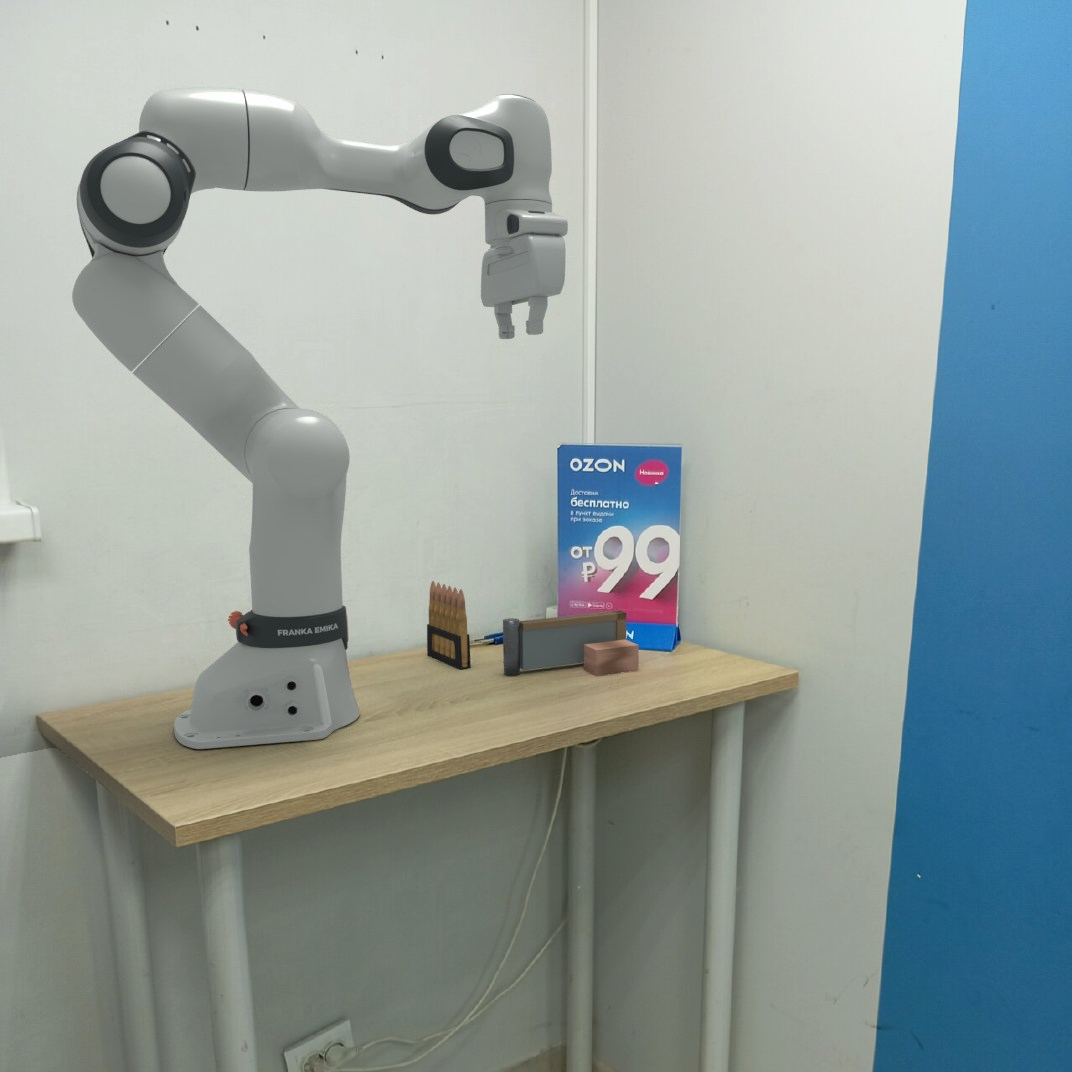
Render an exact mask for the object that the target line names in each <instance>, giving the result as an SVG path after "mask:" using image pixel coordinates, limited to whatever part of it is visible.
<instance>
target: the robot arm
mask: <svg viewBox="0 0 1072 1072" xmlns="http://www.w3.org/2000/svg"><path fill="white" fill-rule="evenodd" d="M551 141H552V140H551V131H550V126H549V119H548V115H547V114H546V111H545V109H544V108H543V107H542V105H540V104H539V103H538V102H537V101H535V100H534V99H532V98H530V97H527V96H524V95H521V94H520V95H519V94H513V93H512V94H508V93H506V94H505V93H503V94H498V95H494V96H492V97H491V98H490V99H489V100H488V101H486V102H485V103H483V104H482V105H480V106H478V107H476V108H474V109H472V110H470V111H466V112H463V113H459V114H458V113H457V114H454V115H448V116H444V117H442V118H440V119H438V120H437V121H435V122H433V123H432V124H431V125H430V126H428V127H427V128H425V130H424V131H423V132H422V133H420V134H419V135H418V136H417V137H415V138H413V139H411V140H408V141H406V142H404V143H401V144H395V145H386V144H385V145H384V144H376V143H370V142H363V141H356V140H349V139H343V138H342V139H341V138H338V137H334V136H331V135H329V134H327V133H325V132H324V131H322V130H321V129H320V128H319V126H318V125H317V124H316V122H315V120H314V118H313V117H312V115H311V114H310V113H309V111H308V110H307V109H306V108H305V107H304V106H303V105H302V104H301V103H299V102H298V101H296V100H293V99H290V98H289V97H288V98H287V97H284V96H280V95H278V94H274V93H270V92H264V91H259V90H251V89H250V90H249V89H240V88H232V87H211V86H207V87H205V86H203V87H182V88H181V87H180V88H170V89H163V90H159V91H157V92H154V93H153V94H152V95H151V96H150V97H148V99H147V100H146V102H145V104H144V105H143V108H142V111H141V113H140V117H139V122H138V132H137V133H135V134H133V135H131V136H129V137H126V138H125V139H122V140H121V141H119V142H116V143H113V144H112V145H110V146H108V147H106V148H104V149H102V150H101V151H98V153H97V154H95V155H94V156H93V157H92V158H91V160H89V162H88V163H87V164H86V166H85V167H84V170H83V172H82V175H81V179H80V182H79V184H78V187H77V190H76V208H77V213H78V217H79V224H80V226H81V227H80V228H81V230H82V233H83V236H84V238H85V241H86V243H87V245H88V249H89V251H90V255H91V260H90V262H89V263H87V264H86V265H85V266H84V267H83V268H82V269H81V271H80V272H79V274H78V275H77V278H76V280H75V282H74V284H73V285H74V286H73V288H72V294H71V295H72V296H71V298H72V304H73V307H74V309H75V312H76V313H77V314H78V316H79V317H80V319H82V321H83V323H84V324H85V325H86V326H87V328H88V329H89V330H90V331H91V332H92V333H93V335H94V336H95V337H96V338H97V339H98V340H99V341H100V343H101V344H102V345H103V346H104V347H105V348H106V349H107V350H108V351H109V352H110V353H111V354H112V355H113V357H114V358H116V359H117V361H118V362H119V363H121V364H122V365H123V367H125V368H126V369H127V370H128V371H129V372H130V373H131V372H132V375H134V376H135V377H136V378H137V379H138V380H139V381H140V382H142V383H143V384H144V385H145V386H146V387H147V388H149V390H151V391H152V392H153V393H154V394H155V395H156V396H157V397H159V398H160V399H161V400H162V401H163V402H164V403H165V404H166V405H167V406H169V408H171V409H172V410H173V411H174V412H175V413H176V414H177V415H179V416H180V418H182V419H183V420H184V421H185V422H186V423H188V425H190V426H191V427H192V428H193V429H194V430H195V432H196V433H198V434H199V435H200V436H201V437H202V438H203V439H204V440H205V441H206V442H207V443H208V444H210V445H211V446H212V447H213V448H214V449H215V450H216V452H217V453H219V454H220V455H221V456H222V457H223V458H225V460H226V461H227V462H228V463H230V464H231V465H232V466H233V467H234V468H235V469H236V470H237V471H238V472H240V473H241V475H243V477H245V478H246V479H247V480H248V481H249V482H251V484H252V502H251V503H252V508H251V526H250V527H251V529H250V541H249V548H248V549H249V550H248V554H249V569H250V570H249V571H250V586H251V587H250V591H251V608H252V609H250V610H248V612H246V613H244V614H243V612H241V611H237V610H235V611H231V613H230V615H228V618H227V620H228V623H229V625H230V627H231V628H233V629H235V634H236V641H237V642H236V643H235V644H234V645H233V646H232V647H231V648H229V649H228V650H227V651H225V653H223V654H222V655H221V656H220V657H218V659H216V660H215V661H214V662H213V663H211V664H210V665H209V666H208V667H207V668H205V669H204V670H203V671H202V672H201V673H200V674H199V676H198V677H197V678H196V682H195V685H194V689H193V692H192V698H191V699H192V700H191V708H190V709H188V710H185V711H183V712H181V713H180V714H179V715H177V717H176V718H175V720H174V722H173V734H174V737H175V739H176V740H177V741H178V743H180V744H181V745H183V746H184V747H185V746H186V747H188V748H190V749H196V750H205V749H218V748H230V747H240V746H241V747H242V746H243V747H244V746H254V745H265V744H277V743H278V744H279V743H289V742H301V741H303V742H304V741H313V740H315V741H316V740H321V739H324V738H326V737H328V736H330V735H331V734H332V733H333V732H334V731H336V730H337V729H340V728H343V727H345V726H348V725H350V724H351V723H353V722H355V721H356V720H357V719H358V718H359V717H360V715H361V710H360V708H359V706H358V703H357V700H356V697H355V696H356V695H355V693H354V689H353V683H352V680H351V679H352V678H351V676H350V669H349V664H348V657H347V650H348V647H349V646H348V642H349V619H348V614H347V607H346V606H345V605H343V581H342V580H343V577H342V549H341V548H342V532H343V523H344V516H345V515H344V514H345V506H346V505H345V504H346V493H347V477H348V475H347V474H348V471H349V466H350V450H349V445H348V443H347V440H346V438H345V436H344V434H343V432H342V430H341V429H340V428H339V427H338V425H337V424H336V423H335V422H333V420H331V418H329V417H328V416H326V415H324V414H323V413H320V412H319V411H315V410H313V409H309V408H308V409H307V408H301V407H300V406H298V405H297V404H296V403H295V402H294V401H293V399H292V398H290V397H289V395H288V394H286V393H285V392H284V390H283V389H282V388H281V387H280V386H279V385H278V383H276V381H275V380H273V378H272V377H271V376H270V374H268V372H267V371H266V370H265V369H264V368H263V367H262V365H260V363H259V362H258V361H257V359H256V358H255V356H253V354H252V353H251V352H250V351H249V350H248V349H247V348H246V347H245V346H244V345H242V344H241V342H240V341H238V340H237V339H236V338H235V337H234V336H233V335H232V334H231V333H230V332H229V331H228V330H227V329H225V327H224V326H223V325H222V324H220V323H219V322H218V321H217V319H215V318H214V317H213V316H212V315H211V314H210V313H209V312H208V311H207V310H206V309H204V307H203V306H202V305H199V303H198V302H197V300H195V299H194V298H193V297H192V296H191V295H189V293H187V292H186V291H185V290H184V289H183V288H182V287H181V286H180V285H179V284H178V283H177V281H176V280H175V279H174V278H173V276H172V275H171V274H170V271H169V270H168V268H167V266H166V262H165V259H164V255H165V253H166V251H167V250H168V248H169V247H170V246H171V244H172V243H174V241H175V240H176V239H177V236H178V235H179V233H180V231H181V229H182V227H183V222H184V220H185V218H186V215H187V211H188V208H189V204H190V198H191V195H192V194H194V193H197V192H198V191H203V190H213V189H216V188H218V189H225V190H233V191H235V190H236V191H245V192H246V191H247V192H287V191H288V192H291V191H303V190H305V191H306V190H329V191H336V192H337V191H338V192H347V193H353V194H354V193H355V194H364V195H371V196H372V195H373V196H381V197H385V198H390V199H392V200H394V201H397V202H399V203H401V204H403V205H405V206H406V207H408V208H410V209H412V210H414V211H416V212H418V213H421V214H425V215H440V214H444V213H447V212H449V211H450V210H452V209H453V208H455V206H457V205H458V204H459V203H461V201H463V200H466V199H468V198H469V197H472V196H473V197H474V196H475V197H480V198H481V199H483V201H484V237H485V238H484V240H485V241H484V242H485V243H486V244H487V245H489V246H490V247H489V249H488V250H487V251H486V252H484V255H483V257H482V263H481V276H480V298H481V299H480V300H481V303H482V305H483V306H484V307H485V308H493V310H494V313H493V314H494V317H495V321H496V324H497V326H498V338H499V339H501V340H511V339H514V338H515V336H516V334H515V330H516V329H515V325H513V320H512V314H513V306H514V305H519V304H524V303H527V305H528V307H529V311H528V320H525V327H526V329H525V332H526V334H527V335H528V336H530V335H531V336H532V335H533V336H537V335H542V334H543V333H544V319H545V316H546V312H547V310H548V301H549V300H548V298H549V297H553V296H554V297H555V296H559V295H560V294H562V290H563V288H564V285H565V280H566V279H565V277H566V243H565V239H564V237H565V236H566V235H567V234H568V229H569V228H568V227H569V224H568V223H569V222H568V218H566V217H565V216H562V215H559V214H557V213H554V212H553V200H552V197H551V194H550V193H551V192H550V181H551V175H552V171H553V167H552V163H553V162H552V161H553V160H552V159H553V157H552V142H551Z"/></svg>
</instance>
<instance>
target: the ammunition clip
mask: <svg viewBox="0 0 1072 1072" xmlns="http://www.w3.org/2000/svg"><path fill="white" fill-rule="evenodd" d="M430 583H431V584H430V587H429V602H428V603H429V604H428V623H427V624H426V649H427V650H426V656H427V657H429V658H431V659H434V660H436V661H439V662H441V663H443V664H446V665H448V666H451V667H453V668H455V669H457V670H461V671H462V670H466V669H470V668H471V665H472V664H471V644H470V642H471V641H470V640H471V639H470V638H471V637H470V634H469V633H468V617H467V611H466V601H465V599H466V598H465V595H464V592H463V590H462V588H460V589H459V590H457V587H454V588H452V587H451V585H448V587H447V586H446V584H445V583H444V584H442V586H441V583H440V582H437V583H435V581H434V580H432V581H431V582H430ZM452 589H453V590H452ZM458 591H459V592H458Z"/></svg>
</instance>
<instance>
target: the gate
mask: <svg viewBox="0 0 1072 1072" xmlns="http://www.w3.org/2000/svg"><path fill="white" fill-rule="evenodd" d="M519 630H520V670H522V671H530V670H538V669H544V668H545V669H546V668H554V667H562V666H568V665H569V666H570V665H577V664H584V644H591V643H600V642H608V641H617V640H625V639H626V640H627V612H625V611H623V610H612V611H603V612H593V613H582V614H575V615H565V616H554V617H545V618H535V619H526V620H519Z"/></svg>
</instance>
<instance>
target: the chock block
mask: <svg viewBox="0 0 1072 1072" xmlns="http://www.w3.org/2000/svg"><path fill="white" fill-rule="evenodd" d="M639 647H640V646H639V644H637V643H634V642H632V641H630V640H628V639H627V638H626V639H625V640H617V641H608V642H600V643H591V644H584V663H583V670H584V671H585V670H586V671H585V672H587V671H588V673H589V672H590V673H589V674H591V675H594V676H595V677H600V676H607V675H608V674H609V675H614V674H616V675H617V674H622V673H621V672H624V673H630V672H629V671H631V672H637V670H639V664H640V663H639V662H640V661H639V658H640V656H639V655H640V654H639V651H640V650H639V649H640V648H639Z"/></svg>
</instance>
